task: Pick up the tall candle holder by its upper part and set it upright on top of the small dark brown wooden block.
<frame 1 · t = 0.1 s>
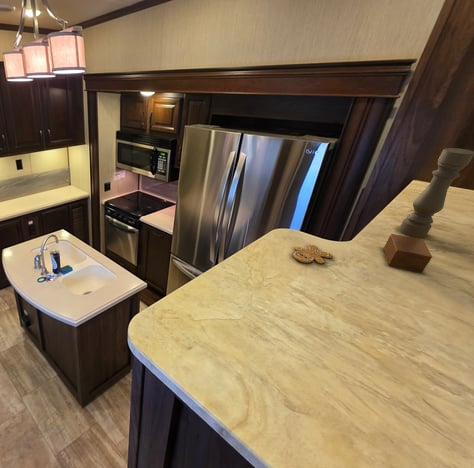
brown wooden block: (401, 259, 77), on the worktop
candle holder: (411, 232, 89), on the worktop
cookie: (309, 256, 81), on the worktop
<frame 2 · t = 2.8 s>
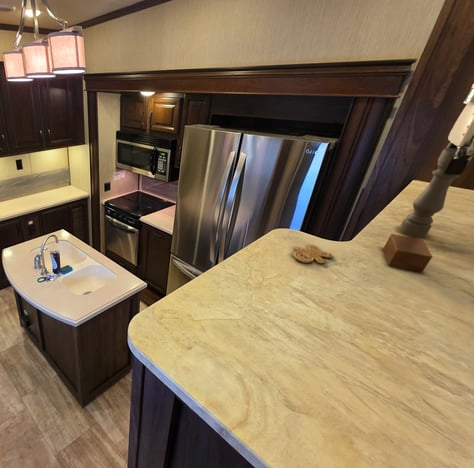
hand: (448, 169, 78), 20 cm above the worktop, tool pointing down, fingers closed on candle holder, 5 cm apart
candle holder: (411, 232, 89), on the worktop, touching gripper
everything else where it was.
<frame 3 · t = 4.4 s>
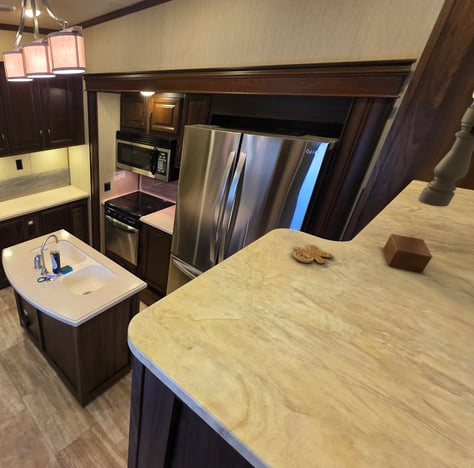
hand: (473, 129, 73), 30 cm above the worktop, tool pointing down, fingers closed on candle holder, 5 cm apart
candle holder: (432, 202, 83), point 10 cm above the worktop, touching gripper
everything else where it was.
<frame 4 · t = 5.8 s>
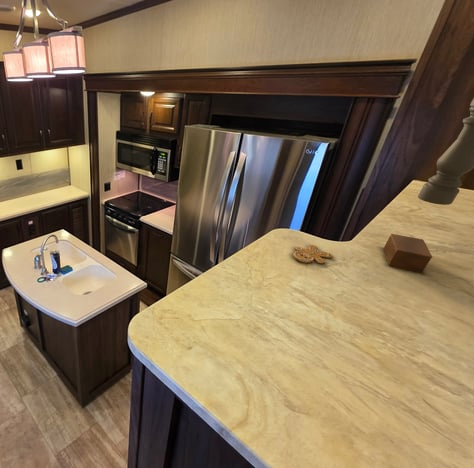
candle holder: (433, 200, 73), point 15 cm above the worktop, touching gripper
everything else where it was.
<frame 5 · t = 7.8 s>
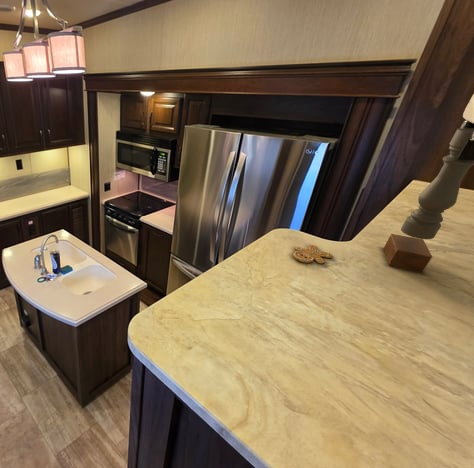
hand: (462, 155, 63), 28 cm above the worktop, tool pointing down, fingers closed on candle holder, 5 cm apart
candle holder: (416, 233, 73), point 8 cm above the worktop, touching gripper
everything else where it was.
when the fingers open (25 cm above the worktop, at t = 9.2 s): candle holder stays where it is, resting on brown wooden block.
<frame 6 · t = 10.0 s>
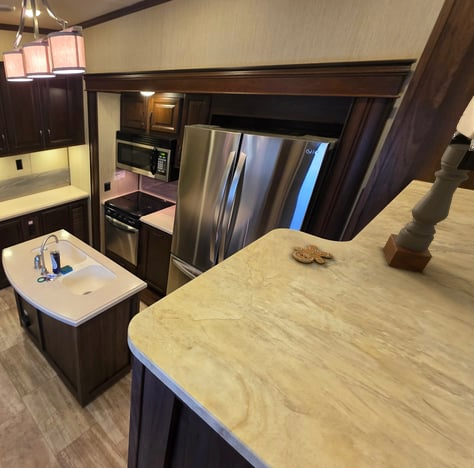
hand: (458, 163, 64), 27 cm above the worktop, tool pointing down, fingers open, 9 cm apart
candle holder: (410, 245, 75), point 5 cm above the worktop, touching brown wooden block
everything else where it was.
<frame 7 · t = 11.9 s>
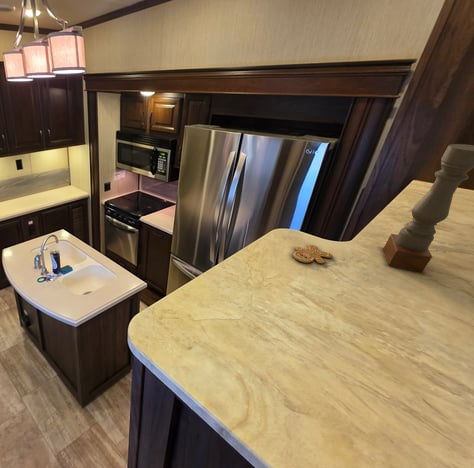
nothing on the worktop moved.
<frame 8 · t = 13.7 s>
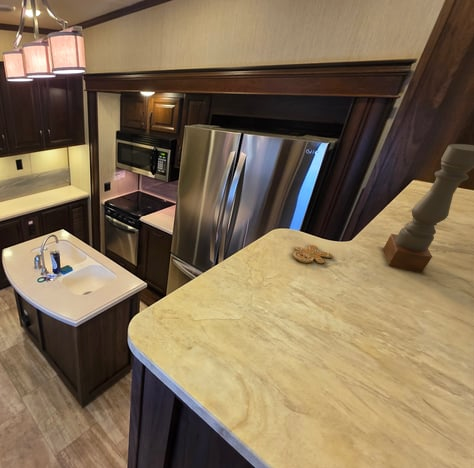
nothing on the worktop moved.
at the end: candle holder 0.0 cm from the target spot, point 4.8 cm above the worktop; candle holder tilted 0°; the gripper is holding nothing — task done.
